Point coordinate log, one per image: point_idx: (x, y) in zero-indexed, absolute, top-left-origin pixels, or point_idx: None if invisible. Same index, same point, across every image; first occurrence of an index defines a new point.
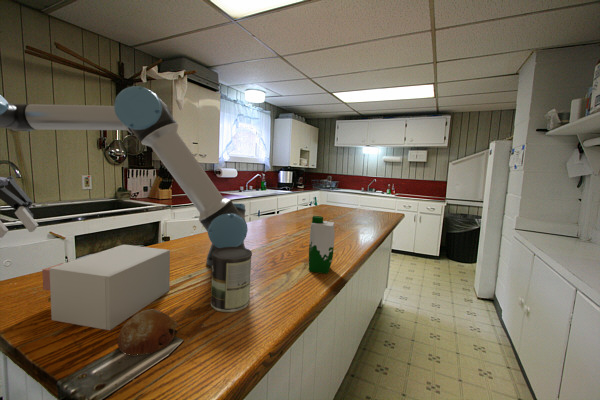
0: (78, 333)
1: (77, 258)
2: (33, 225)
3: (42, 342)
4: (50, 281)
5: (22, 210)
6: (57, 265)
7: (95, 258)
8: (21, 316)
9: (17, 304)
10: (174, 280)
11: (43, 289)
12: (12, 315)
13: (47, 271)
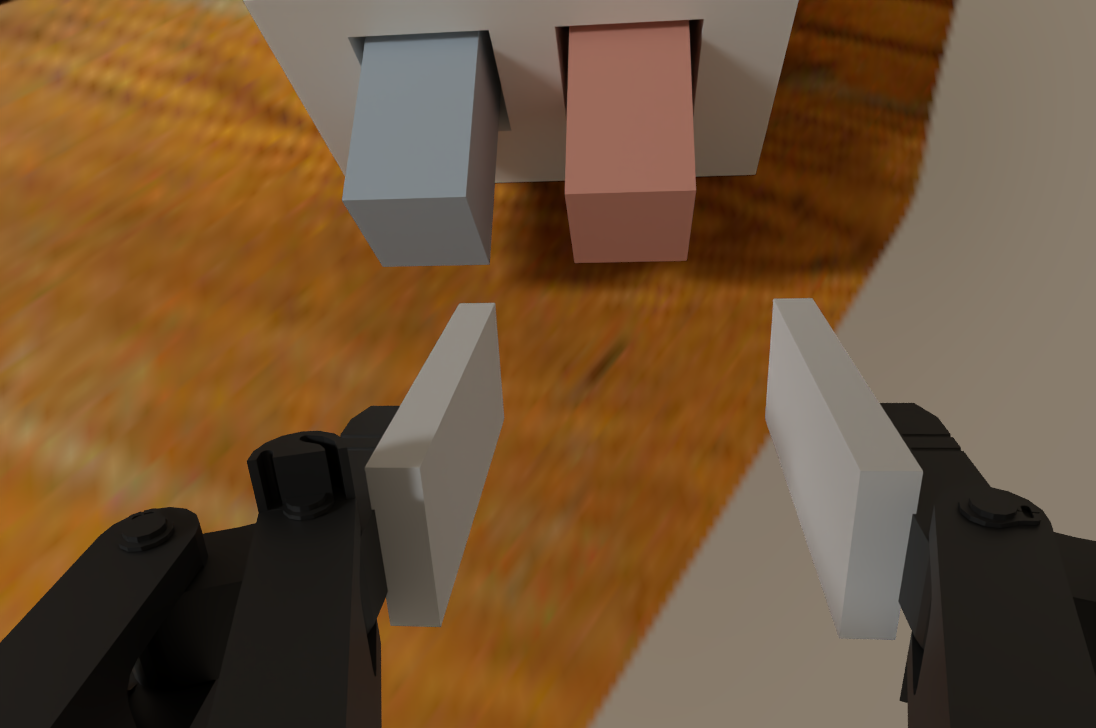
0: None
1: (455, 191)
2: (494, 329)
3: (879, 67)
4: (789, 32)
5: (442, 431)
6: (607, 180)
7: None
8: None
9: (698, 460)
10: None
11: (686, 259)
12: None
13: (694, 158)
